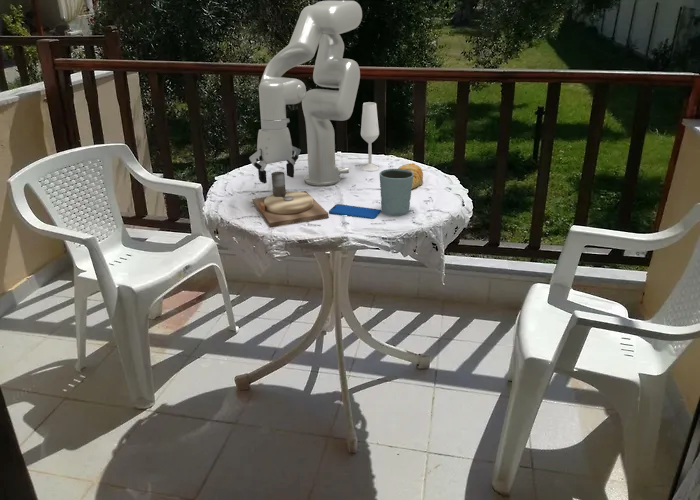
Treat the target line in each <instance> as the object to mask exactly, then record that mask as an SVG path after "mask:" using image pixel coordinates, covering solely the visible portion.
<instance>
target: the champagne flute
mask: <svg viewBox="0 0 700 500" xmlns="http://www.w3.org/2000/svg"><path fill="white" fill-rule="evenodd" d="M378 118H379V117H378V108H377V103H376V102H374V101H373V102H371V101H368V102H363V104H362V113H361V125H360V127H361V128H360V136H361V138H362V139H363V140H364V141H365V142H366V143H367V144H368V147H367V149H368V150H367V151H368V156H367V157H368V163H367V164H365V165H364V166H362V167H361V168H360V169H361V170H362V171H365V172H375V171H378V170H379V169H380V168H379V166H377V165H375V164H374V163H372V159H373V158H372V154H373V152H372V147H373V146H372V143H374V142H375V141H376V140H377V139H378V137H379V136H380V128H379V120H378Z"/></svg>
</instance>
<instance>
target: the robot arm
mask: <svg viewBox="0 0 700 500" xmlns="http://www.w3.org/2000/svg"><path fill="white" fill-rule="evenodd" d="M362 9H363V8H362V7H361V5H360V3H358V2H357V1H355V0H322V1H321V0H320V1H318V2H316V3H314V4H312V5H311V4H310V5H307V6H305V7H304V8H303V9H302V10H301V12H300V14H299V17H298V20H297V22H296V25H295V26H294V30H293V33H292V36H291V38H290V40H289V43H288V45H287V46H285V47H284V48H283V49H281V50H280V51H279V52H277V54H276V55H274V56H273V57H272V58H271V59H270V61H268V62H267V65H266V66H265V68H264V71H263V74H262V76H261V79H260V83H259V84H258V97H259V98H258V99H259V112H260V126H261V129H258V133H257V144H256V146H257V150H256V151H255V152H254V153H253V154H252V155H250V156H249V158H248V159H249V161H250V163H251V164H252V166H253V167H254V168H256V169H257V173H258V180H259V182H260V183H262V184H267V183H268V181H267V171H266V170H265V169H266V168H267V166H268V165H269V164H275V163H281V162H287V163H286V169H285V170H286V176H287V177H289V178H292V179H293V178H294V177H295V165H296V162H297V161H298V159H299V157H300V154H301V151H302V150H301V149H300V148H298V147H296V146H294V145H293V144H292V138H291V133H290V129H289V127H287V126H288V124H289V123H290V122H291V121H290V118H289V117H288V118H287V110H286V107H287V106H286V105H296V104H300V103H301V107H302V111H303V112H302V113H303V116H304V121H305V130H306V132H305V133H306V144H307V145H306V146H307V147H306V148H307V165H308V174H307V175H305V177H304V183H306V184H307V185H310V186H316V187H320V186H321V187H323V186H324V187H326V186H332V185H335V184H337V183H339V182H340V180H341V176H340V175H341V174H349V173H350V169H349V167H343V166H339V167H338V166H336V150H335V149H336V144H335V129H334V127H333V126H334V125H333V124H332V122H331V121H347V120H349V119H350V118H351V116H352V114H353V112H354V107H355V104H356V103H355V102H356V98H357V94H358V89H359V85H360V79H361V71H360V66H359V64H358V62H357V61H355V60H354V59H350V58H343V57H344V52H345V43H344V41H343V38H342V36H341V34H344V33H348V32H351V31H352V30H355V29H357V28H358V27H359V26H360V24H361V22H362V19H363V10H362ZM316 52H317V54H316ZM315 54H316V58H315V63H314V67H313V74H312V79H313V82H314V84H315V85H317V86H319V87H322V89H321V88H313V89H308V91H307V89H306V88H307V86H306V85H305V83H304V82H303V81H302V80H300V79H299V78H298V79H297V78H293V77H282V76H283V75H284V74H285V73H286V72H287V71H289V70H291V69H293V68H294V67H297V66H300V65H302V64H305V63H306V62H309V61H310V60H312V59H313V58H314V57H315ZM324 88H331V89H324ZM334 89H335V90H334ZM336 89H338V90H336Z"/></svg>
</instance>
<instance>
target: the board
mask: <svg viewBox="0 0 700 500" xmlns="http://www.w3.org/2000/svg"><path fill="white" fill-rule="evenodd" d="M301 192H304V193H307V194H309V192H308V191H306V190H304V191H301ZM266 197H267V196H263V197H256V198H252V201H251V202H252V205H254V207H255V209H256V210H257V211H258V213H259V214H260V215H261V217H262V219H263V220H264V221H265V222H266V224H267V225H268V226H269V228H276V227H282V226H289V225H294V224H300V223H306V222H314V221H318V220H323V219H329V216H330V215H329V211H327V210H325V208H324V207H323V206H322V205H321V204H320V203H319V202H318V201H316V200H315V198H313V206H312V207H311V208H310V209H308V210H306V211H303V212H299V213H293V214H278V213H273V212H270V211H268V210H266V209H265V205H264V200H265V198H266Z"/></svg>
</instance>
